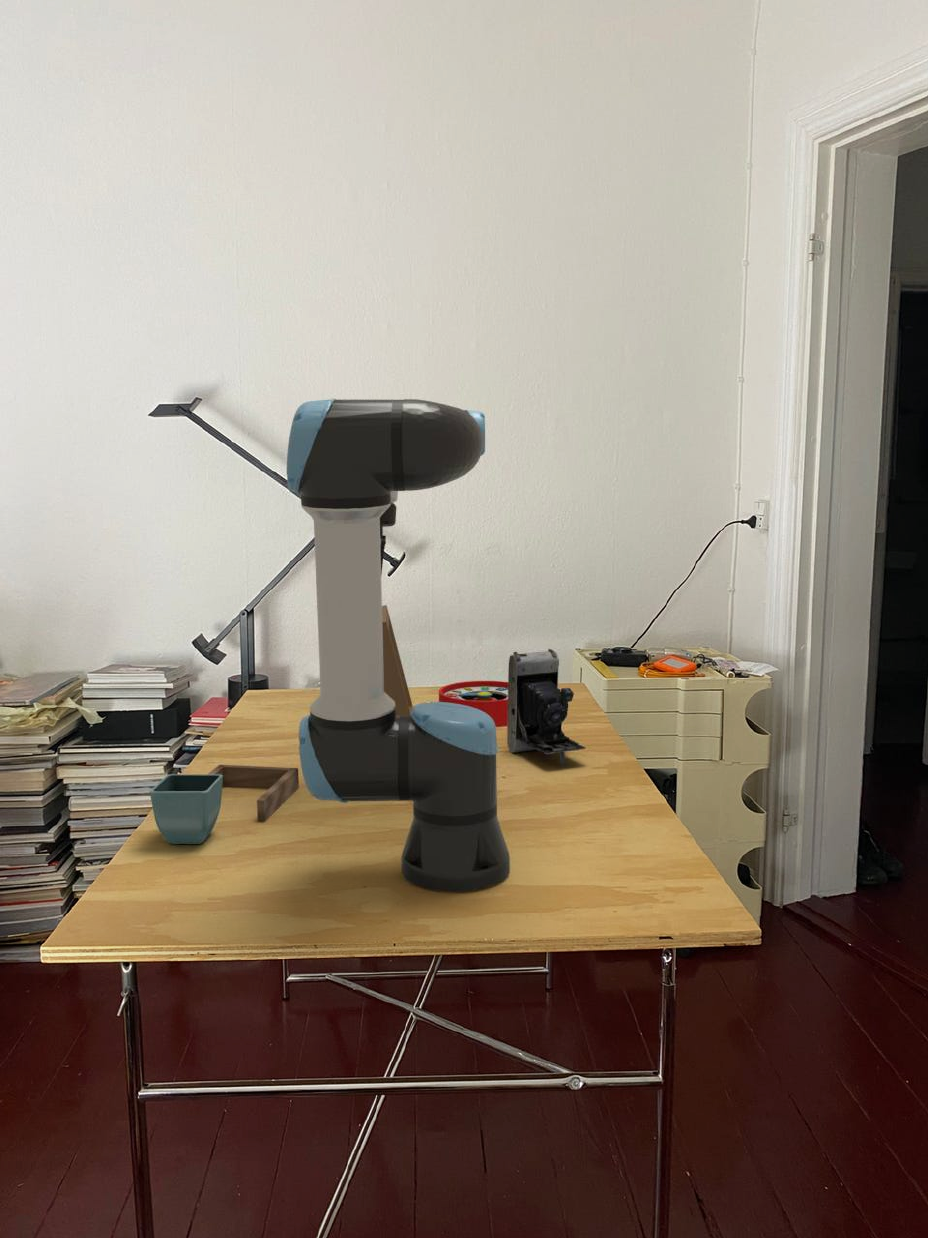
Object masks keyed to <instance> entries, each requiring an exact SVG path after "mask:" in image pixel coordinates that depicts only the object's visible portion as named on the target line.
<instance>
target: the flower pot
mask: <svg viewBox="0 0 928 1238" xmlns="http://www.w3.org/2000/svg"><path fill="white" fill-rule="evenodd" d="M222 781H223V775H219V774H208V773H207V774H205V773H202V774H199V773H197V774H189V773H187V774H182V773H179V774H178V773H175V774H174V773H172V774H167V775H165V776H164V777H163V778H162V779H161V780H160V781H159V782H158V783H157V784H156V785H155V786H153V787H152V788H151V790H149V796H150V801H151V807H152V811H153V816H154V820H155V823H156V824H155V825H156V826H157V828H158V830H159V832H160V834H161V836H162V837H163V838H164V840H166V842H167V843H168V844H170V845H184V844H185V845H200V844H203V843H204V842H205V840H207V838H208V837H209V835H211V833H212V832H213V831H212V830H213V829H214V828H215V825H216V823H217V820H218V817H219V815H220V810H221V804H222V796H223V794H222V793H223V792H222V791H223V788H222Z"/></svg>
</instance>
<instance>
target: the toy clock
mask: <svg viewBox="0 0 928 1238" xmlns="http://www.w3.org/2000/svg"><path fill="white" fill-rule="evenodd" d="M438 702H446V703H455V704H461V705H465V706H469V707H473V708H476V709H478V710H481V711H483V712H485V713H486V714H488V715H489V716H490V717H491V718H492V719H493V721H494V723H495V726H496V728H500V727H507V722H508V681H500V680H469V681H459V682H454V683H450V684H447V685H444V686H442V687H440V688H439V690H438Z"/></svg>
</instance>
